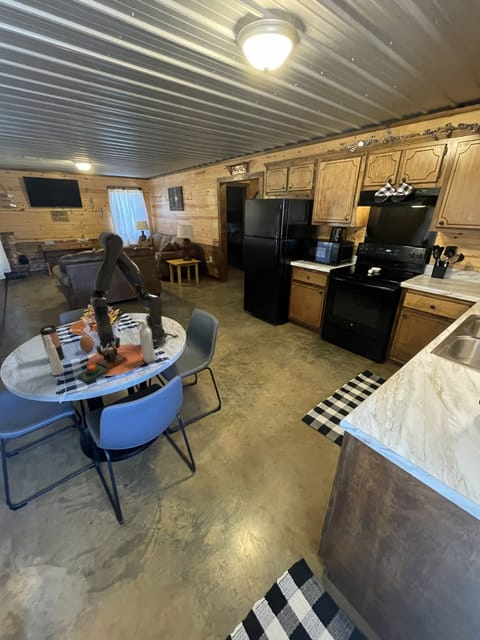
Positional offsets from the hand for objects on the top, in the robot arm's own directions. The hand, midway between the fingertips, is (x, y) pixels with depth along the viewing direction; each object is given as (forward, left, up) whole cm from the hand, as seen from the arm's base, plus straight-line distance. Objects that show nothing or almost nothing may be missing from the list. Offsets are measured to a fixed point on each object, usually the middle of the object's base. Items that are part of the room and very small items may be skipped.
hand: (111, 357), depth 148 cm
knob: (0, 0, -1) cm, 1 cm away
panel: (0, 0, -4) cm, 4 cm away
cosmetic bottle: (+21, -17, -4) cm, 27 cm away
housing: (+13, +2, -4) cm, 13 cm away
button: (+13, +2, 0) cm, 13 cm away
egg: (-1, -25, -4) cm, 25 cm away
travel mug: (+14, -32, -4) cm, 35 cm away
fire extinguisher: (-13, +16, -4) cm, 21 cm away
